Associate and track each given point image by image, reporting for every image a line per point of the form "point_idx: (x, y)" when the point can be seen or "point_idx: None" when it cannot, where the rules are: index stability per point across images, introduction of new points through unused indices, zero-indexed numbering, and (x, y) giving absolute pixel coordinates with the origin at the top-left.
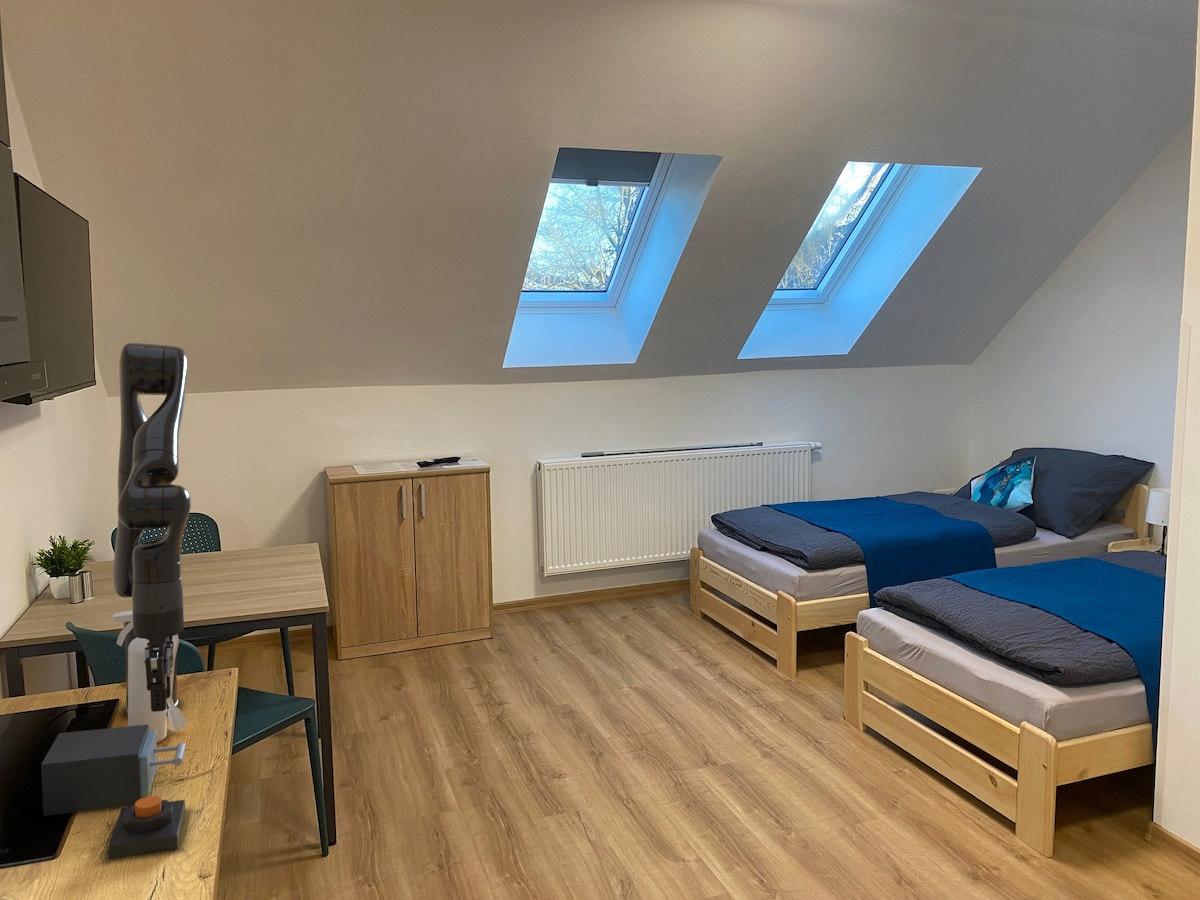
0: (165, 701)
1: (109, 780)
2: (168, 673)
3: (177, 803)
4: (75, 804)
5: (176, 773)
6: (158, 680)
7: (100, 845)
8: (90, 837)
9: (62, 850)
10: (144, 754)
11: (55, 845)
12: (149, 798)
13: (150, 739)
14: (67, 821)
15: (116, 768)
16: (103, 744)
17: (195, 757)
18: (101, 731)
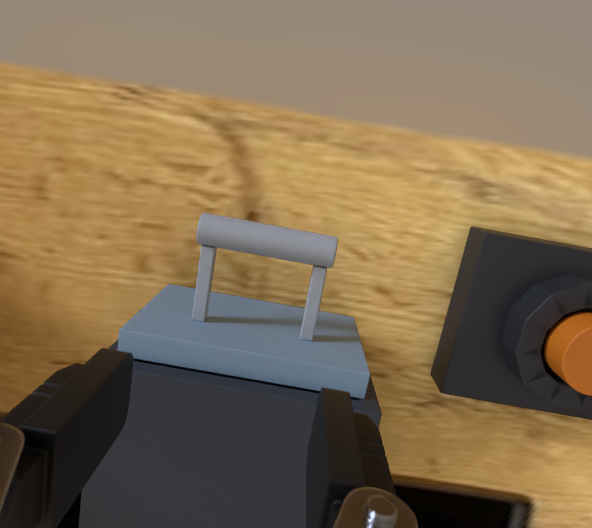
0: (354, 420)
1: None
2: (22, 460)
3: (500, 255)
4: None
5: None
6: (63, 497)
7: (528, 421)
8: (475, 439)
9: (503, 490)
10: (347, 381)
11: (471, 502)
12: (580, 356)
13: (210, 354)
14: None
15: None
16: (234, 515)
17: (108, 165)
18: (104, 517)
